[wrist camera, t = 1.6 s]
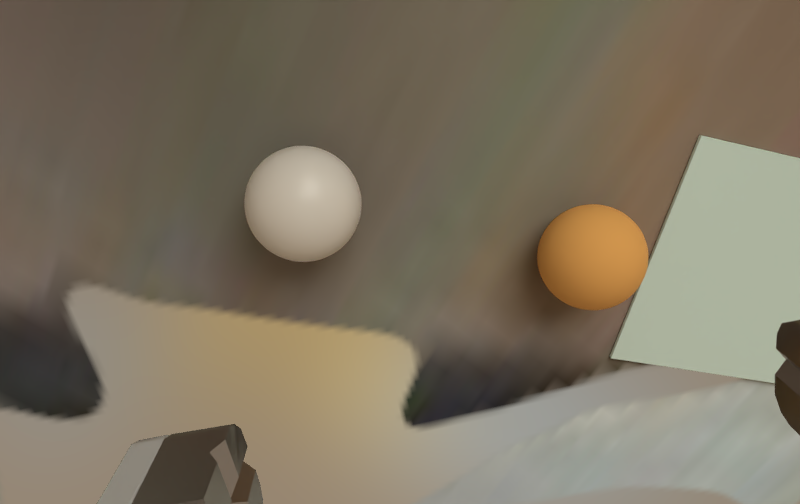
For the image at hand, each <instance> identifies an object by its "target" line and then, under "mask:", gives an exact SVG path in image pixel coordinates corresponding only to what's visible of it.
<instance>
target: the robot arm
mask: <svg viewBox="0 0 800 504" xmlns="http://www.w3.org/2000/svg"><path fill="white" fill-rule="evenodd" d="M776 349H777V350H778V351H779V352H780V354H781V355H782V356H783V357H784V358H785V359H786V360H785V361H784V363H783V364H782V365H781V367H780V368H779V369H778V371H777V372H776V374H775V396H776V399H777V402H778V405H779V408H780V411H781V413H782V414H783V416H784V417H785V419H786V420H787V422H788V424H789V425H790V426H791V427H792V428H793V429H794V430H795V431H796V432H797V433H798V434H799V435H800V319H799V320H794V321H790V322H785V323H782V324H781V326H780V328H779V330H778V332H777V340H776ZM246 449H247V444H246V441H245V439H244V436H243V434H242V431H241V429H240V428H239V427H238V426H236V425H235V424H231V425H225V426H219V427H214V428H207V429H201V430H196V431H189V432H183V433H177V434H172V435H164V436H160V437H154V438H149V439H144V440H139V441H137V442H135V443H133V444H131V446H130V448H129V449H128V451H127V453H126V454H125V456H124V458H123V460H122V461H121V463H120V465H119V466H118V468H117V470H116V472H115V473H114V475H113V477H112V479H111V480H110V482H109V484H108V485H107V487H106V489H105V490H104V492H103V494H102V496H101V497H100V499H99V501H98V502H97V504H263V498H262V493H261V487H260V482H259V479H258V476H257V473H256V470H255V469H253V468H252V467H250V466H249V465H248V464H246V463H245V462H243V460H244V457H245V453H246Z"/></svg>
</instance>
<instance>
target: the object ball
mask: <svg viewBox="0 0 800 504" xmlns="http://www.w3.org/2000/svg"><path fill="white" fill-rule="evenodd" d="M537 263H538V268H539V272H540V275H541V278H542V280H543V282H544V283H545V285H546V286H547V288H548V289H549V290H550V291H551V292H552V293H553V294H554V296H556V297H557V298H558V299H559V300H561V301H562V302H564V303H566V304H568V305H570V306H573V307H576V308H579V309H584V310H602V309H607V308H610V307H613V306H616V305H618V304H620V303H622V302H624V301H625V300H627V299H628V298H629V297H630V296H631V295H632V294H633V293H634V292H635V291H636V290H637V289H638V288H639V286H640V285H641V283H642V281H643V279H644V277H645V274H646V271H647V267H648V248H647V244H646V241H645V238H644V235H643V234H642V232H641V230H640V229H639V227H638V226H637V225H636V223H635V222H634V221H633V220H632V219H630V218H629V217H628V216H627V215H625V214H624V213H622V212H621V211H619V210H617V209H614V208H612V207H608V206H604V205H598V204H588V205H581V206H577V207H574V208H571V209H569V210H567V211H565V212H563V213H561V214H560V215H559V216H557V217H556V218H555V219H554V220H553V221H552V222H551V223H550V224H549V225H548V227H547V228H546V229H545V231H544V233H543V235H542V237H541V239H540V242H539V246H538V252H537Z"/></svg>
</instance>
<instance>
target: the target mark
mask: <svg viewBox="0 0 800 504" xmlns="http://www.w3.org/2000/svg"><path fill="white" fill-rule="evenodd" d="M799 319H800V158H796V157H792V156H788V155H783V154H779V153H775V152H771V151H766V150H762V149H758V148H753V147H749V146H745V145H740V144H736V143H732V142H728V141H723V140H719V139H715V138H710V137H706V136H702V135H699V137H698V140H697V142H696V144H695V147H694V149H693V152H692V154H691V157H690V159H689V162H688V164H687V167H686V169H685V172H684V174H683V177H682V179H681V181H680V184H679V186H678V189H677V191H676V194H675V196H674V199H673V201H672V204H671V206H670V209H669V211H668V214H667V216H666V219H665V221H664V223H663V226H662V228H661V231H660V233H659V236H658V238H657V241H656V243H655V246H654V248H653V251H652V253H651V256H650V258H649V260H648V267H647V271H646V274H645V277H644V279H643V281H642V283H641V285H640V286H639V288H638V289H637V290H636V293H635V295H634V297H633V300H632V302H631V305H630V307H629V310H628V312H627V315H626V317H625V320H624V322H623V325H622V327H621V330H620V332H619V334H618V337H617V339H616V342H615V344H614V347H613V349H612V352H611V354H610V358H612V359H619V360H626V361H632V362H639V363H645V364H652V365H658V366H665V367H671V368H679V369H685V370H691V371H698V372H704V373H711V374H718V375H724V376H731V377H737V378H744V379H750V380H757V381H763V382H770V383H775V374H776V372H777V371H778V369H779V368H780V367H781V365H782V364H783V363H784V361H785V360H786V359H785V358H784V357H783V356H782V355H781V354H780V352H779V351H778V350H777V349H776V340H777V332H778V330H779V328H780V326H781V324H782V323H785V322H790V321H794V320H799Z"/></svg>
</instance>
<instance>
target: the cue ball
mask: <svg viewBox="0 0 800 504" xmlns="http://www.w3.org/2000/svg"><path fill="white" fill-rule="evenodd" d="M361 206H362V200H361V193H360V189H359V186H358V183H357V181H356V179H355V177H354V175H353V173H352V172H351V170H350V169H349V168H348V167H347V165H346V164H345V163H344V162H343V161H342V160H340V159H339V158H338V157H336V156H335V155H333V154H331V153H330V152H328V151H325V150H323V149H320V148H317V147H312V146H293V147H288V148H284V149H281V150H279V151H276V152H275V153H273V154H271V155H269V156H268V157H267V158H266V159H264V160H263V161H262V162H261V163H260V164H259V165H258V166H257V168H256V169H255V170H254V172H253V173H252V175H251V177H250V179H249V181H248V184H247V187H246V191H245V197H244V209H245V215H246V219H247V222H248V225H249V227H250V229H251V231H252V233H253V235H254V236H255V237H256V239H257V240H258V241H259V242H260V243H261V244H262V245H263V246H264V247H265V248H266V249H267V250H268V251H270V252H272V253H273V254H275V255H277V256H279V257H281V258H284V259H287V260H291V261H297V262H311V261H317V260H320V259H323V258H326V257H328V256H330V255H332V254H334V253H336V252H337V251H338V250H340V249H341V248H342V247H343V246H344V245H345V244H346V243H347V242H348V241H349V240H350V238H351V237H352V235H353V234H354V232H355V230H356V228H357V226H358V223H359V220H360V216H361Z"/></svg>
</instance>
